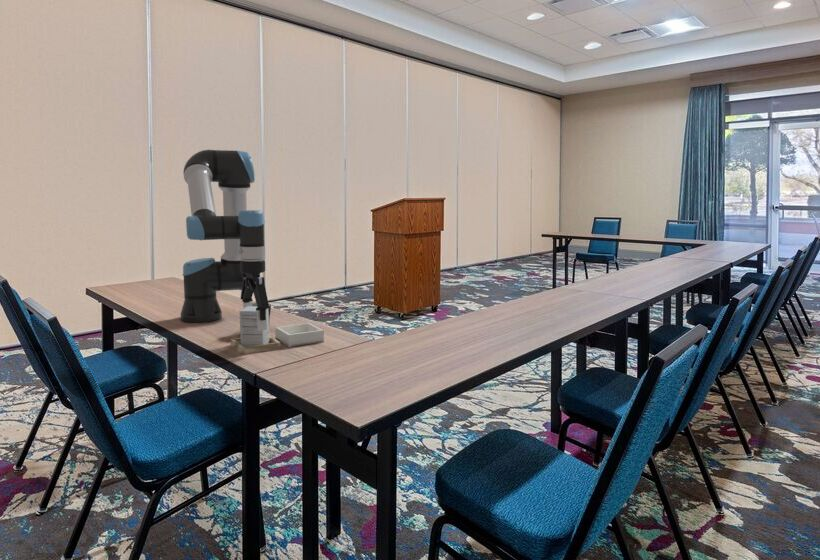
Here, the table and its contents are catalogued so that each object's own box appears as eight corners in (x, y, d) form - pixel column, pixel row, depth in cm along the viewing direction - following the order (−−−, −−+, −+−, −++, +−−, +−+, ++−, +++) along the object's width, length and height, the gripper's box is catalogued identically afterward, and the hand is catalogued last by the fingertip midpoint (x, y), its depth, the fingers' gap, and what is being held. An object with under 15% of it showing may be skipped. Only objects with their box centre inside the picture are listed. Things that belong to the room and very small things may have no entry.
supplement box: (247, 343, 176) (246, 305, 174) (270, 344, 176) (269, 306, 174) (240, 349, 169) (238, 310, 167) (263, 350, 169) (262, 311, 167)
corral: (230, 345, 174) (230, 339, 174) (267, 339, 181) (267, 334, 181) (242, 354, 164) (242, 348, 164) (280, 348, 171) (280, 342, 171)
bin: (275, 338, 183) (275, 327, 182) (309, 333, 189) (308, 322, 189) (289, 347, 173) (288, 335, 172) (323, 341, 179) (323, 330, 179)
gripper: (229, 256, 176) (231, 320, 179) (253, 264, 156) (256, 335, 159) (251, 255, 181) (254, 317, 184) (278, 263, 160) (280, 332, 163)
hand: (255, 326), depth 171 cm, fingers open, 13 cm apart
